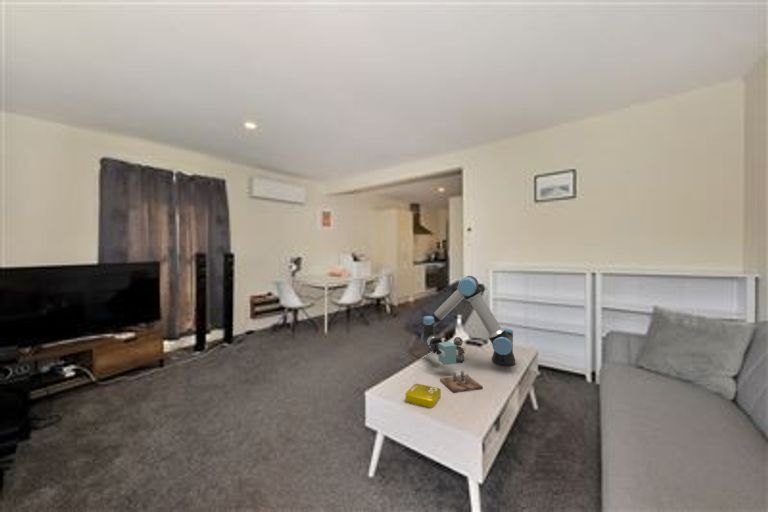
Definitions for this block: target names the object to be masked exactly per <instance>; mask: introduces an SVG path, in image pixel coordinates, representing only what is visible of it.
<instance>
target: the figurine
mask: <svg viewBox="0 0 768 512" xmlns="http://www.w3.org/2000/svg"><path fill="white" fill-rule="evenodd" d="M452 343H453V344H455V345H456V350H458V355H456V359H460V363H462V364H463V363H464V361H465V355H464V354H465V350H464V347H462V345H463V343H464V341H463V338H461V337H460V336H456V337H454V339H453V342H452Z"/></svg>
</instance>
